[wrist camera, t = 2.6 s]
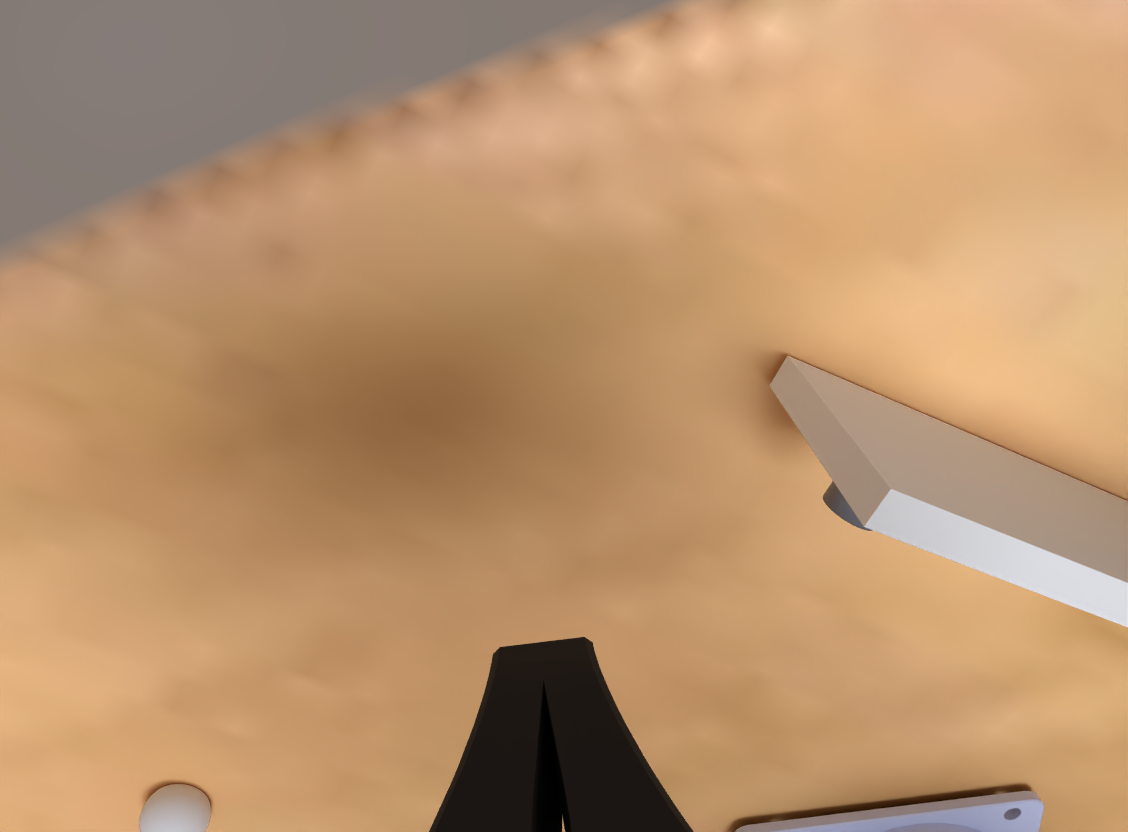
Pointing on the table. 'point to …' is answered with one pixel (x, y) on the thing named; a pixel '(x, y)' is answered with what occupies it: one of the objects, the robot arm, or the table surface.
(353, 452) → the table surface
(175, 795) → the molecular model
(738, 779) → the table surface
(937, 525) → the door
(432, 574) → the table surface
